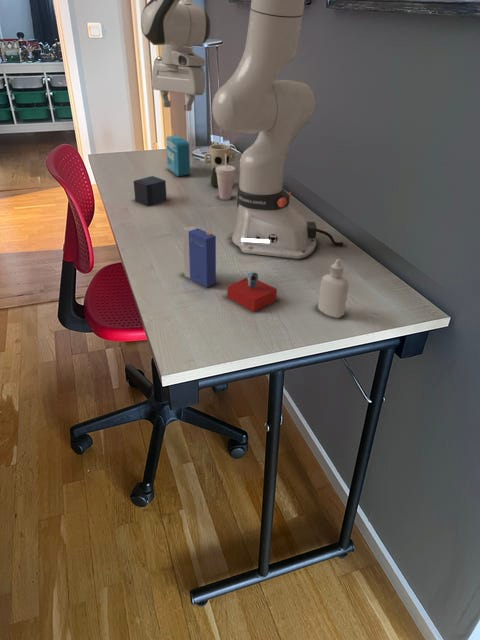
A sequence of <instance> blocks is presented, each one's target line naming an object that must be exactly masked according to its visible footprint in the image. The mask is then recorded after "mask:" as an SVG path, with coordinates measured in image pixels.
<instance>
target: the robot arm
mask: <svg viewBox="0 0 480 640" xmlns="http://www.w3.org/2000/svg"><path fill="white" fill-rule="evenodd" d="M305 1H306V0H250V9H249V10H250V11H249V20H248V27H247V34H246V42H245V47H244V51H243V54H242V56H241V59H240V61H239V63H238V66H237V68H235V71H234V72H233V74H232V75H231V76H230V78H228V80H227V81H226V82H225V83H224V84H223V85H222V86H220V87H218V89H217V91H216V92H215V94H214V96H213V99H212V104H211V113H212V117H213V120H214V122H215V124H216V125H217V127H218V128H219V129H220V130H221V131H222V132H225V133H231V134H238V135H245V134H246V135H248V134H256V133H258V135H257V138H256V140H254V142H253V143H252V144H251V145H250V146H249V147H248V148H246V149H245V150H244V151H243V153H242V154H241V156H240V159H239V181H238V183H239V184H238V187H237V192H236V208H237V215H236V220H235V226H234V230H233V234H232V236H231V241H232V242H233V244H234V245H236V246H237V247H239V248H240V251H241V252H242V253H244V254H249V255H251V254H252V255H258V256H259V255H261V256H266V257H267V256H269V257H276V258H277V257H278V258H286V259H296V260H301V259H304V258H306V257H308V256H309V255H311V254H312V253H313V252H314V250H315V249H316V247H317V239H316V238H317V233H320V234H323V235H325V236H327V238H329V240H330V241H331V243H332V244H333V245H335V246H344V242H343V241H339V242H338V241H335V239H334V237H333V236H332V234H331V233H329V232H327V231H325V230H323V229H319V228H317V225H316V222H315V221H307V219H306V218H305V217H304V216H303V215H301V214H300V213H299V211H297V210H296V209H295V208H294V207H293V206H292V205H290V198H291V196H292V195H291V194H292V191H289V192H287V191H286V190H285V189H284V177H285V168H286V161H287V158H288V154H289V152H290V148H291V146H292V144H293V142H294V140H295V138H297V135H298V134H299V133H300V131H301V130H302V129H303V128H304V127H305V126H306V125H307V124H308V123H309V122H310V121H311V119H312V117H313V116H314V113H315V108H316V99H315V95H314V92H313V90H312V88H311V87H310V85H308V84H307V83H305V82H302V81H297V80H291V79H275V78H276V77H277V75H278V73H279V72H280V71H281V70H282V69H283V68H284V67H286V66H287V65H288V64H290V63H291V62H292V61H293V60H294V59H295V57H296V55H297V52H298V48H299V43H300V37H301V30H302V23H303V17H304V10H305ZM140 28H141V33H142V34H143V36H144V37H145V38H146V40H148V41H149V42H150V43H151V44H152V45H153V46H161V56H156V57H155V58H154V61H153V66H152V71H151V87H152V89H153V90H155V91H159V92H160V97H161V99H162V103H163V104H162V107H163V108H171V106H172V105H171V103H172V102H171V101H170V100H169V99H170V98H169V96H168V95H169V94H170V93H176V94H183V95H185V98H186V99H187V100H186V102H185V103H184V104H183V110H184V111H186V112H191V111H192V109H193V108H192V107H193V104H194V101H195V98H196V96H203V95H204V93H205V91H206V73H205V69H204V67H205V66H206V60H205V58H203V57H202V56H200V55H199V54H197V53H195V52H194V51H193V47H199V46H202V45H204V44H205V43H206V42H207V41H208V39H209V38H210V35H211V18H210V16H209V14H208V13H207V11H206V10H205V8H204V7H201V6H199V5H197V4H196V3H194V2H193V0H149V1H148V2H147V3H146V4H145V6H144V8H143V9H142V12H141V16H140Z"/></svg>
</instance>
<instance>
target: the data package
mask: <svg viewBox="0 0 480 640" xmlns="http://www.w3.org/2000/svg"><path fill="white" fill-rule="evenodd" d="M165 139H166V140H165V142H166V160H167V161H166V162H167V163H166V164H167V169H168V170H169V171H170V172H171V173H173V174H174V175H175V176H176V177H185V176H190V174H191V158H190V154H191V153H190V143H189V141H188V140H186V139H185V138H183V137H182V136H180V135H168V136H166V138H165Z"/></svg>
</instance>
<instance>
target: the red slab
mask: <svg viewBox="0 0 480 640" xmlns="http://www.w3.org/2000/svg"><path fill="white" fill-rule="evenodd" d="M277 292H278V289H277V288H276V287H273V286H272V285H269V284H268V283H265V282H263V281H261V280H259V275H258V273H257V272H249V274H248V275H247V277H245V278H243V279H240V280H238V281H236V282H233V283H231V284H229V285H227V298H228V299H229V300H231V301H233V302H235V303H237V304H239V305H241V306H243V307H245V308H246V309H248V310H250V311H252V312H256V311H258V310H260V309H263V308H264V307H266V306H268V305H270V304H272V303H274V302H276V301H277V294H278V293H277Z"/></svg>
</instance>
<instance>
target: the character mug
mask: <svg viewBox="0 0 480 640" xmlns="http://www.w3.org/2000/svg"><path fill="white" fill-rule="evenodd" d="M208 148H209V149H208V150H209V152H205V153H204V164H209V166H210V167H212V170H211V175H210V176H211V177H210V183H211V185H212V186H213V187H218V181H217V172H216V171H215V170H216V167H217V166H221V165H225V153H227V165H229V166H231V162H235V161H236V151H234V150H233V151H232V150H231V146H230V145H228V144H220V143H219V144H218V143H217V144H211V145H209V147H208ZM231 155H232V156H231ZM231 157H232V158H231Z"/></svg>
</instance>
